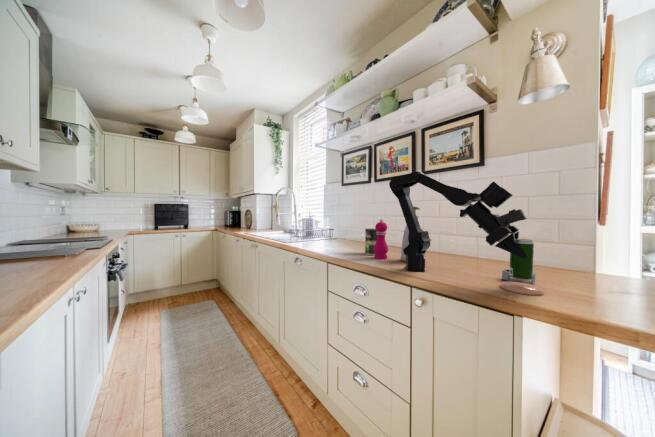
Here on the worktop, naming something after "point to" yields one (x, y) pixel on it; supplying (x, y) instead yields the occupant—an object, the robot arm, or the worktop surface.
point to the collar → (506, 277)
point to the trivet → (522, 288)
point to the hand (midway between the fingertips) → (527, 256)
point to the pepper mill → (381, 241)
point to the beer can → (522, 262)
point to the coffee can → (370, 241)
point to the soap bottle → (406, 239)
